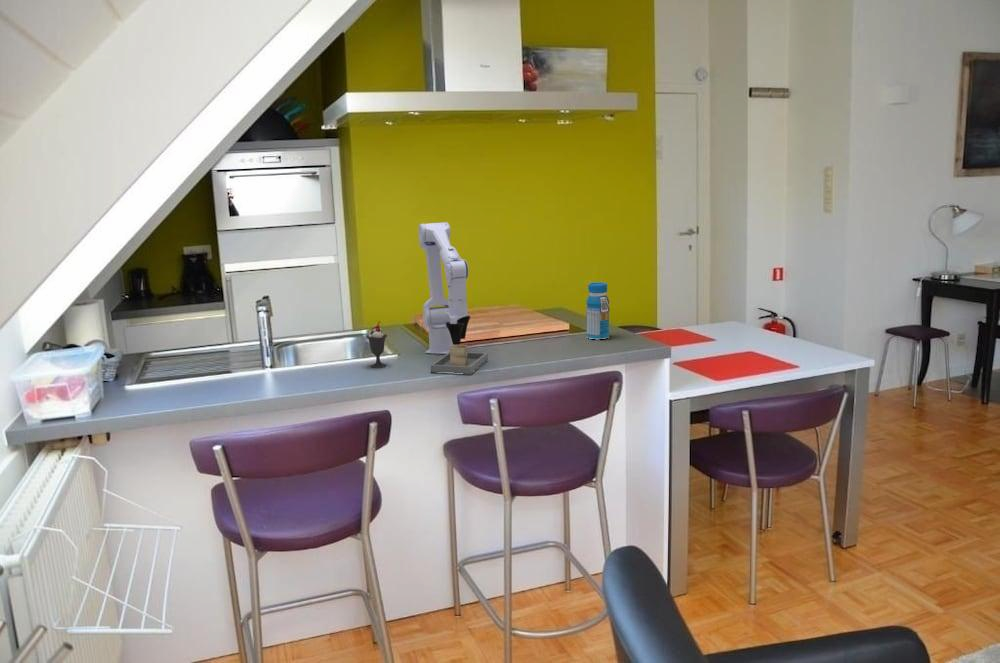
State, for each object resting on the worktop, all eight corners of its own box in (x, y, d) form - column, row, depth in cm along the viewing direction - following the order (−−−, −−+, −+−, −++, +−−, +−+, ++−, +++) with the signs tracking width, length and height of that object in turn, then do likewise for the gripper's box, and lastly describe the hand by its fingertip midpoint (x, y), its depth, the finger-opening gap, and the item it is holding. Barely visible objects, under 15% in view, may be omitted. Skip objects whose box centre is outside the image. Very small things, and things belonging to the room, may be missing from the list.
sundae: (385, 368, 250) (382, 322, 247) (365, 368, 251) (362, 322, 248) (391, 363, 256) (389, 318, 253) (372, 363, 257) (369, 318, 254)
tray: (450, 358, 260) (450, 351, 260) (487, 360, 257) (487, 353, 256) (430, 373, 243) (430, 365, 243) (470, 375, 240) (470, 367, 239)
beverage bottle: (585, 340, 280) (585, 285, 276) (586, 335, 288) (586, 281, 284) (609, 340, 279) (609, 285, 275) (609, 335, 287) (609, 281, 283)
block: (453, 362, 252) (453, 344, 251) (467, 363, 252) (466, 344, 250) (450, 366, 248) (449, 348, 247) (464, 366, 247) (463, 348, 246)
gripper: (450, 295, 253) (451, 336, 256) (439, 303, 239) (441, 346, 242) (471, 295, 252) (473, 336, 255) (462, 303, 238) (463, 347, 241)
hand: (459, 341), depth 248 cm, fingers open, 7 cm apart
